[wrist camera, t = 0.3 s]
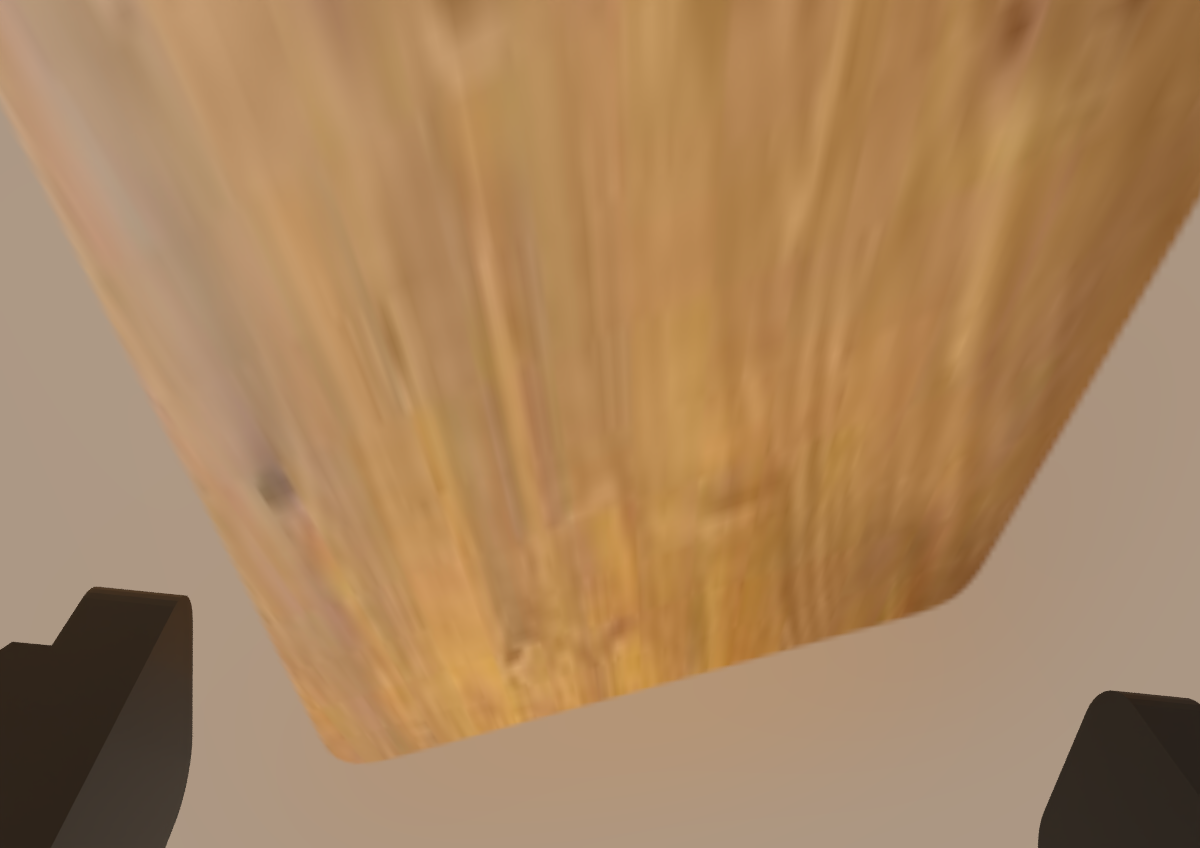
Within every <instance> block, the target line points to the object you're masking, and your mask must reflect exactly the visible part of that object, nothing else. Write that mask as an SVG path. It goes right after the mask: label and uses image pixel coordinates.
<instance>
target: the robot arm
mask: <svg viewBox="0 0 1200 848" xmlns="http://www.w3.org/2000/svg"><path fill="white" fill-rule="evenodd" d="M192 619H193V618H192V606H191V602H190V600H189V598H188V597H187V596H184V595H174V594H164V593H154V592H144V591H134V590H124V589H114V588H104V587H93V588H91V589H90V590H89V591H88V592H87V593H86V594H85V596H84V597H83V598H82V600H81V601H80V603H79V604H78V606H77V607H76V609H75V611H74V612H73V614H72V615H71V617H70V618H69V620H68V621H67V623H66V624H65V626H64V627H63V629H62V631H61V632H60V634H59V635H58V637H57V639H56V640H55V641H54V643H53V645H52V646H51V645H40V644H28V643H19V642H11V643H10V644H9V645H7V646H5V647H4V648H2V649H1V650H0V848H165V847H166V844H167V841H168V839H169V837H170V834H171V832H172V829H173V826H174V823H175V821H176V819H177V816H178V813H179V810H180V807H181V803H182V800H183V796H184V792H185V788H186V783H187V778H188V772H189V766H190V759H191V750H192V674H193V673H192V672H193V668H192V666H193V655H192V654H193V651H192V650H193V648H192V647H193V646H192V645H193V620H192ZM1038 848H1200V704H1199V703H1197V702H1196V701H1194V700H1191V699H1189V698H1179V697H1170V696H1160V695H1150V694H1140V693H1130V692H1119V691H1105V692H1103V693H1101V694H1099V695H1098V696H1097V697H1096V698H1095V699H1094V700H1093V702H1092V703H1091V704H1090V706H1089V708H1088V710H1087V712H1086V714H1085V716H1084V719H1083V721H1082V723H1081V726H1080V728H1079V730H1078V733H1077V735H1076V738H1075V740H1074V742H1073V745H1072V747H1071V749H1070V752H1069V754H1068V756H1067V759H1066V761H1065V764H1064V766H1063V768H1062V771H1061V773H1060V775H1059V778H1058V780H1057V782H1056V785H1055V787H1054V790H1053V792H1052V794H1051V797H1050V799H1049V802H1048V804H1047V806H1046V808H1045V811H1044V814H1043V816H1042V819H1041V824H1040V828H1039V839H1038Z"/></svg>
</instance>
